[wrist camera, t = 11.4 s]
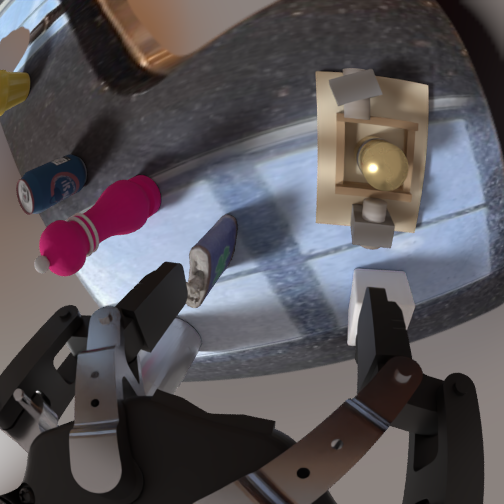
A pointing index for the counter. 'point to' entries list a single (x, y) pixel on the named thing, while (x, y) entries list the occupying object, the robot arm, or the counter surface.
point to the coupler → (381, 163)
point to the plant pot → (13, 89)
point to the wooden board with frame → (343, 145)
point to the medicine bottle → (395, 291)
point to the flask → (210, 259)
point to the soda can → (51, 183)
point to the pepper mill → (97, 225)
